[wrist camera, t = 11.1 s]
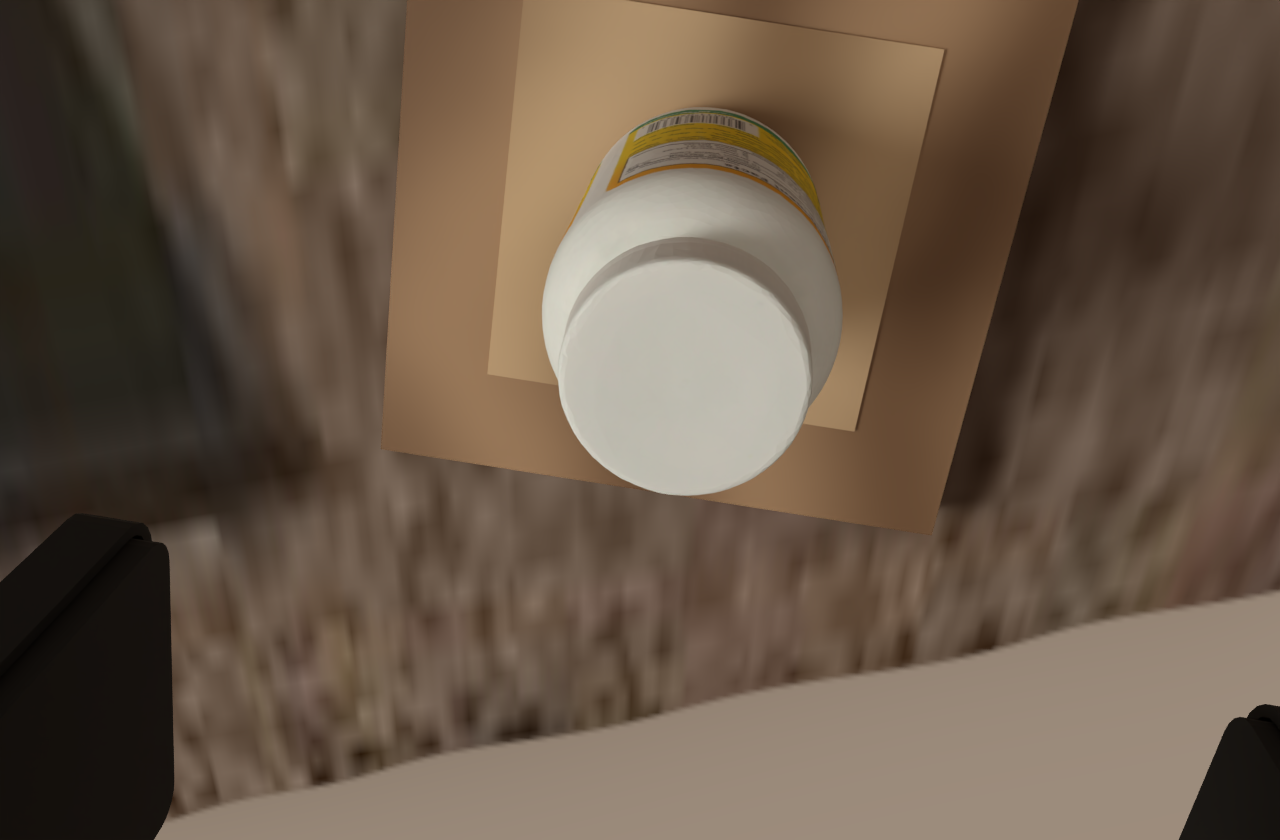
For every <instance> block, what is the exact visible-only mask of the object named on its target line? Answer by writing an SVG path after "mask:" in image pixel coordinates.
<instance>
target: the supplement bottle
mask: <svg viewBox="0 0 1280 840" xmlns="http://www.w3.org/2000/svg"><path fill="white" fill-rule="evenodd" d="M842 319H843V311H842V296H841V288H840V284H839V279H838V274H837V270H836V266H835V261H834V258H833V254H832V250H831V246H830V242H829V239H828V236H827V232H826V229H825V225H824V221H823V217H822V212H821V208H820V203H819V200H818V196H817V193H816V189H815V186H814V184H813V181H812V179H811V176H810V174H809V172H808V170H807V168H806V167H805V165H804V163H803V162H802V160H801V159H800V157H799V156H798V155H797V153H796V152H795V151H794V150H793V148H792V147H791V146H790V145H789V144H788V143H787V142H786V141H785V140H784V139H783V138H782V137H781V136H779V135H778V134H777V133H776V132H774V131H773V130H772V129H770V128H769V127H767V126H766V125H764V124H762V123H761V122H759V121H757V120H755V119H753V118H751V117H748V116H746V115H744V114H741V113H738V112H734V111H731V110H727V109H720V108H711V107H691V108H684V109H678V110H673V111H669V112H666V113H663V114H660V115H658V116H655V117H653V118H651V119H649V120H646V121H645V122H643V123H641V124H639V125H638V126H636V127H634V128H633V129H631V130H630V131H629V132H628V133H627V134H625V135H624V136H623V137H622V138H621V139H620V140H619V141H618V142H617V143H616V144H615V145H614V146H613V147H612V148H611V149H610V150H609V152H608V153H607V154H606V156H605V157H604V159H603V160H602V162H601V163H600V165H599V166H598V168H597V170H596V172H595V174H594V175H593V177H592V179H591V182H590V184H589V186H588V188H587V190H586V192H585V194H584V196H583V198H582V200H581V202H580V204H579V206H578V208H577V211H576V213H575V215H574V217H573V219H572V221H571V223H570V225H569V227H568V229H567V231H566V233H565V235H564V236H563V238H562V240H561V242H560V244H559V246H558V249H557V251H556V253H555V255H554V258H553V260H552V262H551V265H550V268H549V272H548V275H547V279H546V283H545V288H544V293H543V301H542V328H543V335H544V341H545V346H546V350H547V354H548V357H549V360H550V363H551V366H552V368H553V370H554V373H555V375H556V377H557V379H558V385H559V395H560V400H561V404H562V408H563V410H564V413H565V415H566V418H567V420H568V422H569V424H570V426H571V428H572V430H573V432H574V434H575V435H576V437H577V438H578V440H579V441H580V443H581V444H582V445H583V446H584V448H585V449H586V450H587V451H588V452H589V453H590V455H591V456H592V457H593V458H594V459H596V460H597V461H598V462H599V463H600V464H601V465H602V466H604V467H605V468H606V469H608V470H609V471H611V472H612V473H613V474H615V475H616V476H618V477H619V478H621V479H623V480H625V481H628V482H630V483H632V484H634V485H637V486H639V487H642V488H645V489H647V490H651V491H654V492H658V493H663V494H669V495H681V496H691V495H703V494H712V493H716V492H721V491H724V490H727V489H730V488H733V487H735V486H738V485H740V484H743V483H745V482H747V481H749V480H751V479H753V478H754V477H756V476H757V475H759V474H760V473H762V472H763V471H765V470H766V469H767V468H769V467H770V466H771V465H772V464H773V463H774V462H776V461H777V460H778V459H779V458H780V457H781V456H782V454H783V453H784V452H785V451H786V450H787V449H788V447H789V446H790V445H791V444H792V442H793V441H794V439H795V437H796V435H797V433H798V432H799V430H800V428H801V426H802V424H803V422H804V419H805V417H806V414H807V411H808V408H809V407H810V406H811V404H812V403H813V401H814V400H815V399H816V397H817V396H818V394H819V393H820V391H821V390H822V388H823V386H824V385H825V383H826V381H827V379H828V377H829V375H830V372H831V370H832V368H833V365H834V362H835V359H836V356H837V352H838V348H839V344H840V340H841V332H842Z"/></svg>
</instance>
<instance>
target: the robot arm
mask: <svg viewBox="0 0 1280 840" xmlns="http://www.w3.org/2000/svg"><path fill="white" fill-rule="evenodd" d="M173 791H174V746H173V701H172V656H171V611H170V566H169V553H168V550H167V547H166V546H165V545H164V544H163V543H159V542H153V541H152V539H151V534H150V532H149V529H148V527H147V526H146V525H144V524H143V523H139V522H133V521H127V520H120V519H114V518H108V517H102V516H96V515H89V514H83V513H82V514H75V515H73V516H72V517H70V518H69V519H67V520H66V521H65V522H64V523H63V524H62V525H61V526H60V527H59V528H58V529H57V530H56V531H54V532H53V533H52V534H51V535H50V536H49V537H48V538H47V539H46V540H45V541H44V542H43V543H42V544H41V545H40V546H38V547H37V548H36V549H35V550H34V551H33V552H32V553H31V554H30V555H29V556H28V557H27V558H26V559H25V560H24V561H22V562H21V563H20V564H19V565H18V566H17V567H16V568H15V569H14V570H13V571H12V572H11V573H10V574H9V575H8V576H6V577H5V578H4V579H3V580H2V581H1V582H0V840H154V839H155V837H156V835H157V834H158V832H159V830H160V829H161V827H162V825H163V823H164V821H165V819H166V816H167V814H168V811H169V808H170V805H171V801H172V796H173ZM1179 840H1280V706H1273V705H1267V704H1264V705H1260V706H1257V707H1256V708H1255V709H1254V710H1252V711H1251V712H1250V713H1249V715H1248V717H1247V718H1243V717H1239V718H1235V719H1233V720H1232V721H1231V722H1230V723H1229V724H1228V726H1227V728H1226V730H1225V731H1224V734H1223V736H1222V739H1221V741H1220V743H1219V746H1218V748H1217V751H1216V753H1215V755H1214V757H1213V760H1212V762H1211V765H1210V767H1209V769H1208V772H1207V774H1206V777H1205V779H1204V781H1203V784H1202V786H1201V788H1200V791H1199V793H1198V795H1197V798H1196V800H1195V803H1194V805H1193V808H1192V810H1191V812H1190V814H1189V817H1188V819H1187V821H1186V824H1185V826H1184V829H1183V831H1182V833H1181V836H1180V838H1179Z"/></svg>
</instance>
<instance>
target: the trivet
mask: <svg viewBox="0 0 1280 840" xmlns="http://www.w3.org/2000/svg"><path fill="white" fill-rule="evenodd" d="M1078 1H1079V0H407V14H406V31H405V48H404V65H403V82H402V99H401V116H400V133H399V150H398V167H397V184H396V201H395V218H394V235H393V252H392V269H391V286H390V303H389V320H388V337H387V354H386V371H385V388H384V405H383V422H382V439H381V449H384V450H391V451H397V452H403V453H410V454H416V455H422V456H429V457H435V458H442V459H448V460H454V461H461V462H467V463H473V464H480V465H486V466H493V467H499V468H505V469H512V470H518V471H524V472H531V473H537V474H544V475H550V476H556V477H563V478H569V479H575V480H582V481H588V482H595V483H601V484H607V485H614V486H620V487H626V488H633V489H639V490H646V491H651V490H647V489H645V488H642V487H639V486H637V485H634V484H632V483H630V482H628V481H625V480H623V479H621V478H619V477H618V476H616V475H615V474H613V473H612V472H611V471H609V470H608V469H606V468H605V467H604V466H602V465H601V464H600V463H599V462H598V461H597V460H596V459H594V458H593V457H592V456H591V455H590V453H589V452H588V451H587V450H586V449H585V448H584V446H583V445H582V444H581V443H580V441H579V440H578V438H577V437H576V435H575V434H574V432H573V430H572V428H571V426H570V424H569V422H568V420H567V418H566V415H565V413H564V410H563V408H562V404H561V400H560V395H559V385H558V379H557V377H556V375H555V373H554V370H553V368H552V366H551V363H550V360H549V357H548V354H547V350H546V346H545V341H544V335H543V328H542V301H543V293H544V288H545V283H546V279H547V275H548V272H549V268H550V265H551V262H552V260H553V258H554V255H555V253H556V251H557V249H558V246H559V244H560V242H561V240H562V238H563V236H564V235H565V233H566V231H567V229H568V227H569V225H570V223H571V221H572V219H573V217H574V215H575V213H576V211H577V208H578V206H579V204H580V202H581V200H582V198H583V196H584V194H585V192H586V190H587V188H588V186H589V184H590V182H591V179H592V177H593V175H594V174H595V172H596V170H597V168H598V166H599V165H600V163H601V162H602V160H603V159H604V157H605V156H606V154H607V153H608V152H609V150H610V149H611V148H612V147H613V146H614V145H615V144H616V143H617V142H618V141H619V140H620V139H621V138H622V137H623V136H624V135H625V134H627V133H628V132H629V131H630V130H631V129H633V128H634V127H636V126H638V125H639V124H641V123H643V122H645V121H646V120H649V119H651V118H653V117H655V116H658V115H660V114H663V113H666V112H669V111H673V110H678V109H684V108H691V107H711V108H720V109H727V110H731V111H734V112H738V113H741V114H744V115H746V116H748V117H751V118H753V119H755V120H757V121H759V122H761V123H762V124H764V125H766V126H767V127H769V128H770V129H772V130H773V131H774V132H776V133H777V134H778V135H779V136H781V137H782V138H783V139H784V140H785V141H786V142H787V143H788V144H789V145H790V146H791V147H792V148H793V150H794V151H795V152H796V153H797V155H798V156H799V157H800V159H801V160H802V162H803V163H804V165H805V167H806V168H807V170H808V172H809V174H810V176H811V179H812V181H813V184H814V186H815V189H816V193H817V196H818V200H819V203H820V208H821V212H822V217H823V221H824V225H825V229H826V232H827V236H828V239H829V242H830V246H831V250H832V254H833V258H834V261H835V266H836V270H837V274H838V279H839V284H840V288H841V296H842V311H843V319H842V332H841V340H840V344H839V348H838V352H837V356H836V359H835V362H834V365H833V368H832V370H831V372H830V375H829V377H828V379H827V381H826V383H825V385H824V386H823V388H822V390H821V391H820V393H819V394H818V396H817V397H816V399H815V400H814V401H813V403H812V404H811V406H810V407H809V408H808V411H807V414H806V417H805V419H804V422H803V424H802V426H801V428H800V430H799V432H798V433H797V435H796V437H795V439H794V441H793V442H792V444H791V445H790V446H789V447H788V449H787V450H786V451H785V452H784V453H783V454H782V456H781V457H780V458H779V459H778V460H777V461H776V462H774V463H773V464H772V465H771V466H770V467H769V468H767V469H766V470H765V471H763V472H762V473H760V474H759V475H757V476H756V477H754V478H753V479H751V480H749V481H747V482H745V483H743V484H740V485H738V486H735V487H733V488H730V489H727V490H724V491H721V492H716V493H712V494H703V495H691V496H684V497H690V498H697V499H703V500H709V501H716V502H722V503H729V504H735V505H741V506H748V507H754V508H760V509H767V510H773V511H780V512H786V513H792V514H799V515H805V516H811V517H818V518H824V519H831V520H837V521H843V522H850V523H856V524H862V525H869V526H875V527H882V528H888V529H894V530H901V531H907V532H913V533H920V534H926V535H932V532H933V528H934V524H935V521H936V517H937V514H938V510H939V506H940V503H941V499H942V495H943V492H944V488H945V484H946V481H947V477H948V474H949V470H950V466H951V463H952V459H953V455H954V452H955V448H956V445H957V441H958V437H959V434H960V430H961V426H962V423H963V419H964V415H965V412H966V408H967V405H968V401H969V397H970V394H971V390H972V386H973V383H974V379H975V375H976V372H977V368H978V365H979V361H980V357H981V354H982V350H983V346H984V343H985V339H986V335H987V332H988V328H989V325H990V321H991V317H992V314H993V310H994V306H995V303H996V299H997V295H998V292H999V288H1000V285H1001V281H1002V277H1003V274H1004V270H1005V266H1006V263H1007V259H1008V255H1009V252H1010V248H1011V245H1012V241H1013V237H1014V234H1015V230H1016V226H1017V223H1018V219H1019V216H1020V212H1021V208H1022V205H1023V201H1024V197H1025V194H1026V190H1027V186H1028V183H1029V179H1030V176H1031V172H1032V168H1033V165H1034V161H1035V157H1036V154H1037V150H1038V146H1039V143H1040V139H1041V136H1042V132H1043V128H1044V125H1045V121H1046V117H1047V114H1048V110H1049V106H1050V103H1051V99H1052V96H1053V92H1054V88H1055V85H1056V81H1057V77H1058V74H1059V70H1060V66H1061V63H1062V59H1063V56H1064V52H1065V48H1066V45H1067V41H1068V37H1069V34H1070V30H1071V26H1072V23H1073V19H1074V16H1075V12H1076V8H1077V5H1078ZM652 492H654V491H652ZM678 496H681V495H678Z"/></svg>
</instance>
